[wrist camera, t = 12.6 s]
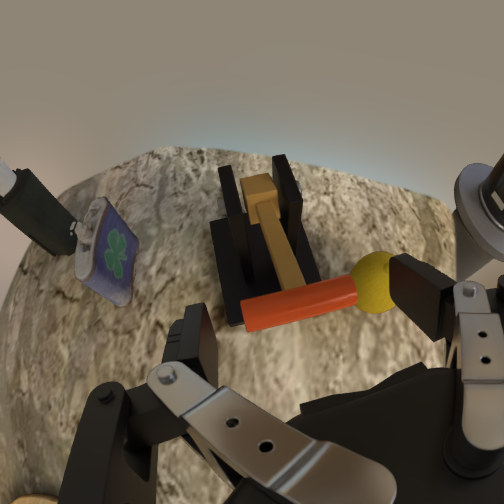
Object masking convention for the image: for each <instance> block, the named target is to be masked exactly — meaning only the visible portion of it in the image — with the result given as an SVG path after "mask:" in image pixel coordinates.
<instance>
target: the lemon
mask: <svg viewBox="0 0 504 504" xmlns="http://www.w3.org/2000/svg"><path fill="white" fill-rule="evenodd" d="M393 256H395V255H393V254H391V253H388V252H383V251H379V252H373V253H370V254H368V255H366V256H364V257H363V258H362V259H361V260H359V261H358V262H357V263H356V265H355V266H354V267H353V269H352V271H351V273H350V276H351V277H352V278H353V280H354V282H355V285H356V288H357V294H358V300H357V303H356V304H355V306H357V307H358V308H359V309H360V310H362V311H364V312H367V313H371V314H376V313H382V312H385V311H388V310H389V309H391V308H392V307H394V306H395V305H396V304H395V303H394V302H393V301H392V299H391V297H390V293H389V259H390V258H391V257H393Z"/></svg>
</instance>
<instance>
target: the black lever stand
mask: <svg viewBox="0 0 504 504" xmlns="http://www.w3.org/2000/svg"><path fill="white" fill-rule="evenodd" d="M218 173H219V178H220V183H221V188H222V192H223V196H222V197H218V198H217V201H218V206H219V210H220V214H221V216H226V215H227V216H228V218H223V219H219V220H215V221H211V222H209V223H210V228H211V234H212V240H213V245H214V251H215V256H216V262H217V267H218V273H219V278H220V283H221V288H222V293H223V299H224V304H225V309H226V314H227V319H228V323H229V326H230V327H234V326H238V325H243V324H245V323H244V318H243V314H242V309H241V304H240V302H241V300H246V299H250V298H254V297H259V296H263V295H267V294H271V293H275V292H280V291H282V289H281V286H280V283H279V280H278V276H277V273H276V270H275V267H274V264H273V261H272V258H271V255H270V252H269V249H268V246H267V243H266V241H265V238H264V235H263V232H262V229H261V226H260V223H257V224H252V225H251V224H250V221H249V218H248V214H247V213H245V214H243V211H242V207H241V203H240V199H239V195H238V191H237V187H236V183H235V179H234V175H233V171H232V167H231V165H227V166H223V167H219V168H218ZM272 174H273V183H274V185H275V187H276V189H277V192H278V201H279V209H280V218H279V221H280V223H281V226H282V228H283V230H284V233H285V235H286V237H287V240H288V242H289V244H290V247H291V249H292V251H293V254H294V256H295V259H296V261H297V263H298V266H299V268H300V270H301V273H302V275H303V278H304V280H305V283H306V285H308V284H312V283H316V282H320V281H321V278H320V275H319V272H318V269H317V266H316V263H315V260H314V257H313V254H312V251H311V248H310V245H309V242H308V239H307V236H306V233H305V230H304V228H303V225H302V222H301V214H302V207H303V198H302V190H301V186H300V183H299V182H298V181H296V180H295V178H294V175H293V173H292V170H291V168H290V165H289V163H288V160H287V158H286V156H285V154H282V155H276V156H272Z"/></svg>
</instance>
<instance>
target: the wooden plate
mask: <svg viewBox="0 0 504 504" xmlns="http://www.w3.org/2000/svg"><path fill="white" fill-rule="evenodd" d="M57 503H58V497H55V496H51V495H46V494H26V495H22V496H20V497H18V498H16V499H15V500H14V501H13V502H12V503H11V504H57Z"/></svg>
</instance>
